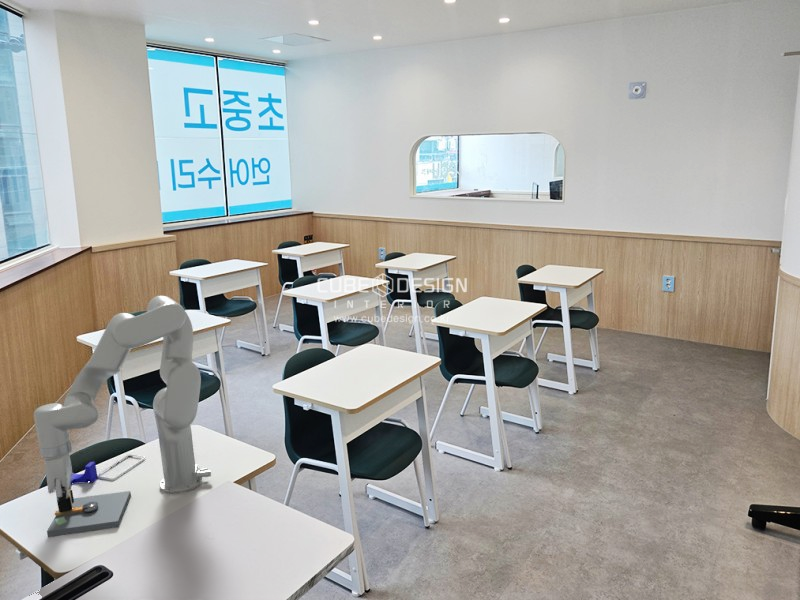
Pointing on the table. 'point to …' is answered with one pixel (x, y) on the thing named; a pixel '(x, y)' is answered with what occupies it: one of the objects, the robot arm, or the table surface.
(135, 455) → the grey rectangular frame
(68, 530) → the dial panel
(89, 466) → the blue cradle holder
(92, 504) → the dial lever
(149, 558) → the table surface
